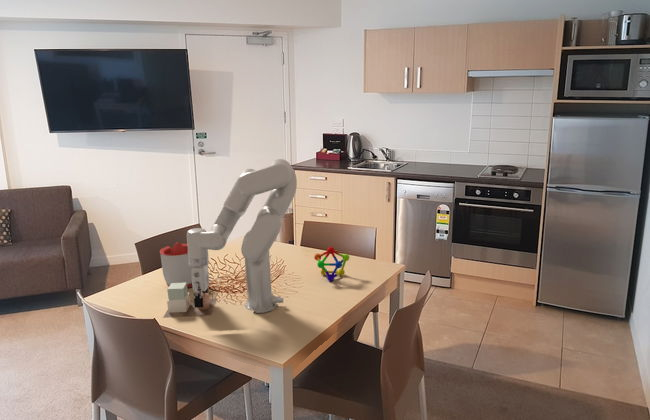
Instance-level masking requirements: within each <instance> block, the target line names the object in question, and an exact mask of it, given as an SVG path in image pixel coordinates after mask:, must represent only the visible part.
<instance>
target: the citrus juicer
mask: <svg viewBox="0 0 650 420" xmlns="http://www.w3.org/2000/svg"><path fill="white" fill-rule="evenodd" d="M159 254H160V259H161V260H160V261H161V271H162V275H163V278H164V281H165V283H166V285H167V287H169V286H170V284H171V283H186V282H187V289H190V288H192V267H190V266H189V260H188V246H187V243H180V242H176V243H174V245H173V246H172V247H170V245H167V246H165V247H163V248H160V250H159Z"/></svg>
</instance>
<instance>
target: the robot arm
mask: <svg viewBox="0 0 650 420" xmlns="http://www.w3.org/2000/svg"><path fill="white" fill-rule="evenodd" d="M297 181H298V180H297V174H296V171H295V169H294V168H293V166H292V165H291V163H290V162H288V161H287V160H286V159H283V158H279V159H275V160H274V161H272V162H271V163H270V164H269V165H268V166H267V167H264V168H261V169H257V170H256V169H253V168H246V169H244V170H242V172H240V174H239V176H238V178H237V179H236V181H235V183H234V185H233V187H232V189H231V190H230V192H229V194H228V195H227V197H226V199H225V201H224V203H223V207H222V208H221V210H220V212H219V215H218V216H217V218H216V220H215V221H214V223H213V225H212V226H211V228H210V230H209V231H207V230H206V229H205V228H203V227H202V228H201V227H196V228H195V227H194V228H191V229H189V230H187V232H186V244H187V246H188V260H189V266H190V267H192V287H191V288H192V291H193V293H194V294H193V300H194V305H195V308H199V307H203V297H202V293H208V294H209V291H208V287H209V285H210V275H209V266H208V265H209V264H210V260H209V250H211V251H221V250H222V249H223V248H225V247H226V244H227V242H228V239H229V238H230V235H231V233H232V231H234V228H235V227H236V225H237V223H238V221H239V220H240V218H241V217H243V216H244V214H245V213H246V212H247V210H248V208H249V206H250V205H251V202H252V201H253V199H254V197H255V196H256V195H260V194H264V193H267V192H270V191H271V192H270V193H269V196H268V197H267V199H266V201H265V203H264V204H263V206H262V208H261V209H260V210H259V211H258V214H257V216H256V219H255V221H254V223H253V225H252V227H251V229H249V230H248V231H246V234H245V235H244V237H243V240H242V243H241V248H240V249H241V254H242V256H243V258H244V269H245V270H244V271H245V282H246V283H245V284H246V293H247V295H246V296H247V301H246V302H245V303H244V305H243V306H244V308H245V309H246V310H249V311H253V314H264V313H267V312H270V311H273V310H274V309H275V308H277V304H278V303H279V304H283V303H284V297H281V295H277V296H276V295H274V292H272V279H271V276H272V275H271V262H270V261H271V260H270V259H271V258H270V249H271V248H272V246H273V244H274V243H275V240H276V239H277V237H278V235H279V234H280V232H281V229H282V224H283V220H284V217H285V215H286V212H287V211H288V209H289V207H290V205H291V204H292V201H293V200H294V199H295V198H294V197H295V195H296V191H297V186H298V185H297V184H298V182H297Z"/></svg>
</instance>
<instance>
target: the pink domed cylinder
mask: <svg viewBox="0 0 650 420" xmlns="http://www.w3.org/2000/svg"><path fill="white" fill-rule="evenodd" d="M202 297H203V307H199V308H198V309H199V310H206V309H209V308H210V299H211V297H210V293H209V292H208V293H202Z"/></svg>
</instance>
